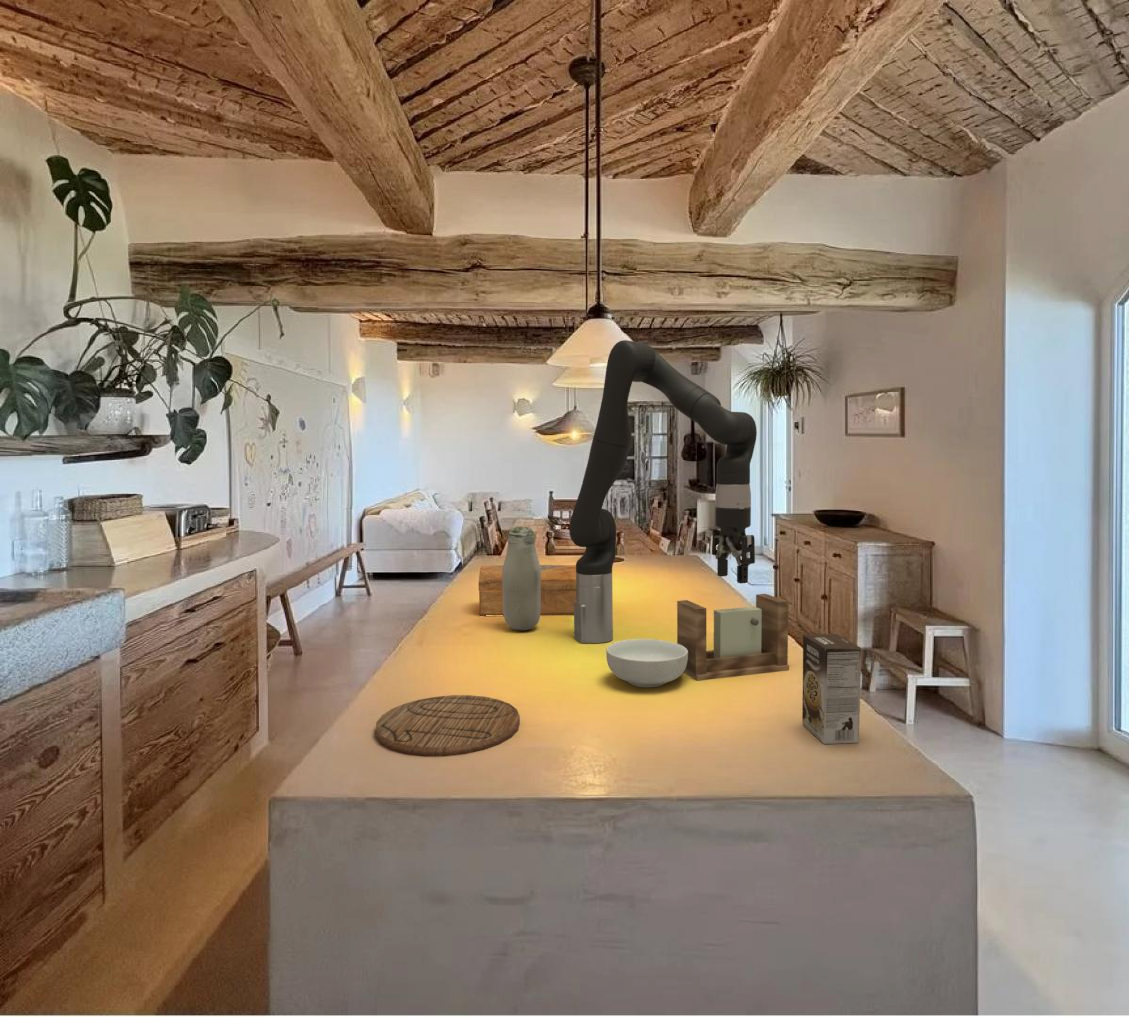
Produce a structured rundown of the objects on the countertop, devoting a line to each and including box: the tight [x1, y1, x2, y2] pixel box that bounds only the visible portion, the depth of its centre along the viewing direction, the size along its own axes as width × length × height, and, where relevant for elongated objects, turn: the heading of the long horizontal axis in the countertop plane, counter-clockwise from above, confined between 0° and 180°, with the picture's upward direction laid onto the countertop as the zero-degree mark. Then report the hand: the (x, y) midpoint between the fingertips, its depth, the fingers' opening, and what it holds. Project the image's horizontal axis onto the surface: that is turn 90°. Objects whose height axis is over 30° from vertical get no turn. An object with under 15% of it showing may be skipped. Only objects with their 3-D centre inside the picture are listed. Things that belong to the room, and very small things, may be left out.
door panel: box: [713, 606, 762, 658], centre depth 162 cm, size 10×4×12 cm, turn 107°
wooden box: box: [478, 564, 576, 617], centre depth 223 cm, size 30×16×14 cm, turn 88°
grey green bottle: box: [502, 526, 541, 632], centre depth 200 cm, size 10×10×28 cm
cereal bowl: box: [605, 638, 688, 688], centre depth 155 cm, size 17×17×7 cm
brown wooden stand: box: [676, 593, 790, 682], centre depth 162 cm, size 22×10×15 cm, turn 107°
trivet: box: [375, 694, 521, 757], centre depth 131 cm, size 25×25×2 cm
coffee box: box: [801, 633, 862, 745], centre depth 125 cm, size 9×6×16 cm
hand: (732, 579), depth 161 cm, fingers open, 8 cm apart
